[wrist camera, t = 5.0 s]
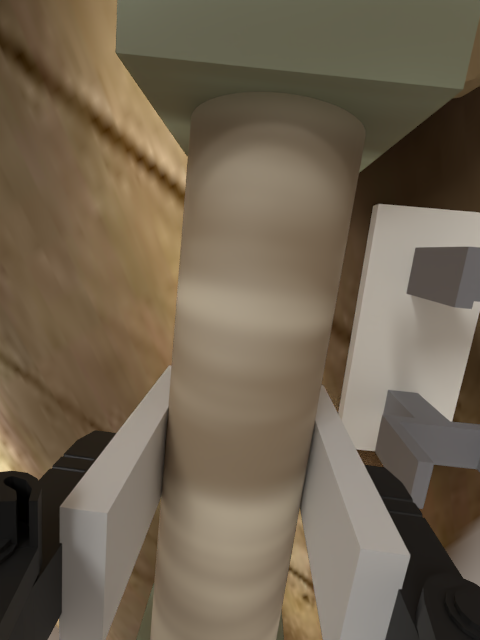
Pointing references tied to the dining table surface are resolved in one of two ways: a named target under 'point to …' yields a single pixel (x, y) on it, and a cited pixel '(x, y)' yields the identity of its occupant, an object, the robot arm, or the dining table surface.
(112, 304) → the dining table surface
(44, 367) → the dining table surface
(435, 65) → the column
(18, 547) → the robot arm
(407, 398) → the bracket
